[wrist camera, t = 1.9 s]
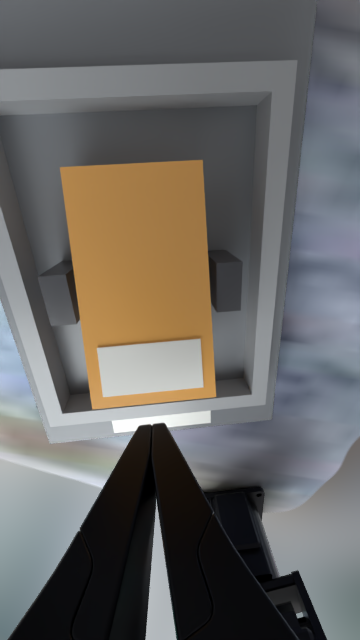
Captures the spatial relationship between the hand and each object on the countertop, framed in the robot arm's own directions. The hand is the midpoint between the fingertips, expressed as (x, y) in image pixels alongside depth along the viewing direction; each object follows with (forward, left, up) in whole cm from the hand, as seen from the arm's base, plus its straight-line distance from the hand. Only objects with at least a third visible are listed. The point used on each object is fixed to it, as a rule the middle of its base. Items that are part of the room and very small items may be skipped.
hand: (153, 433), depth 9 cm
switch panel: (+4, 0, -9) cm, 10 cm away
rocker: (+4, 0, -4) cm, 5 cm away
